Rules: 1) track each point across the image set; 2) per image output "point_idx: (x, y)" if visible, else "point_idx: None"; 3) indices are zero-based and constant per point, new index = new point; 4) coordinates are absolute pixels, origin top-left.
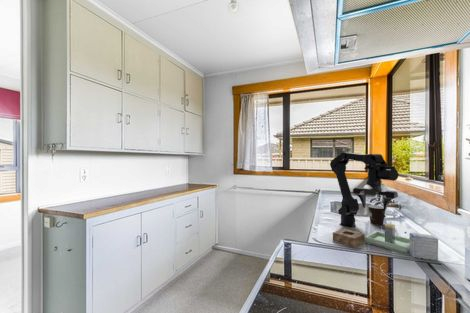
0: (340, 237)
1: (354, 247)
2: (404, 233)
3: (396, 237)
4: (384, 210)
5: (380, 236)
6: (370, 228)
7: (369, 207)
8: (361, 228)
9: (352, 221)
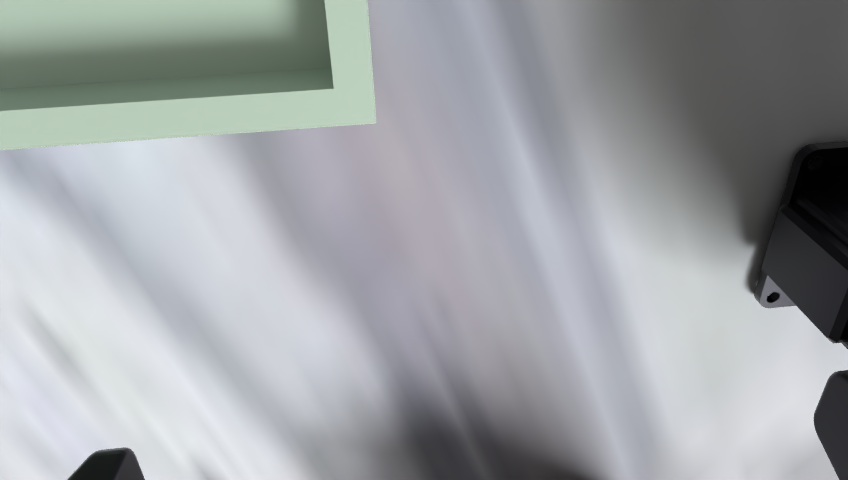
0: None
1: None
2: (206, 466)
3: (16, 102)
4: (80, 471)
5: (267, 30)
6: (558, 336)
7: None
8: (652, 242)
9: (833, 241)
